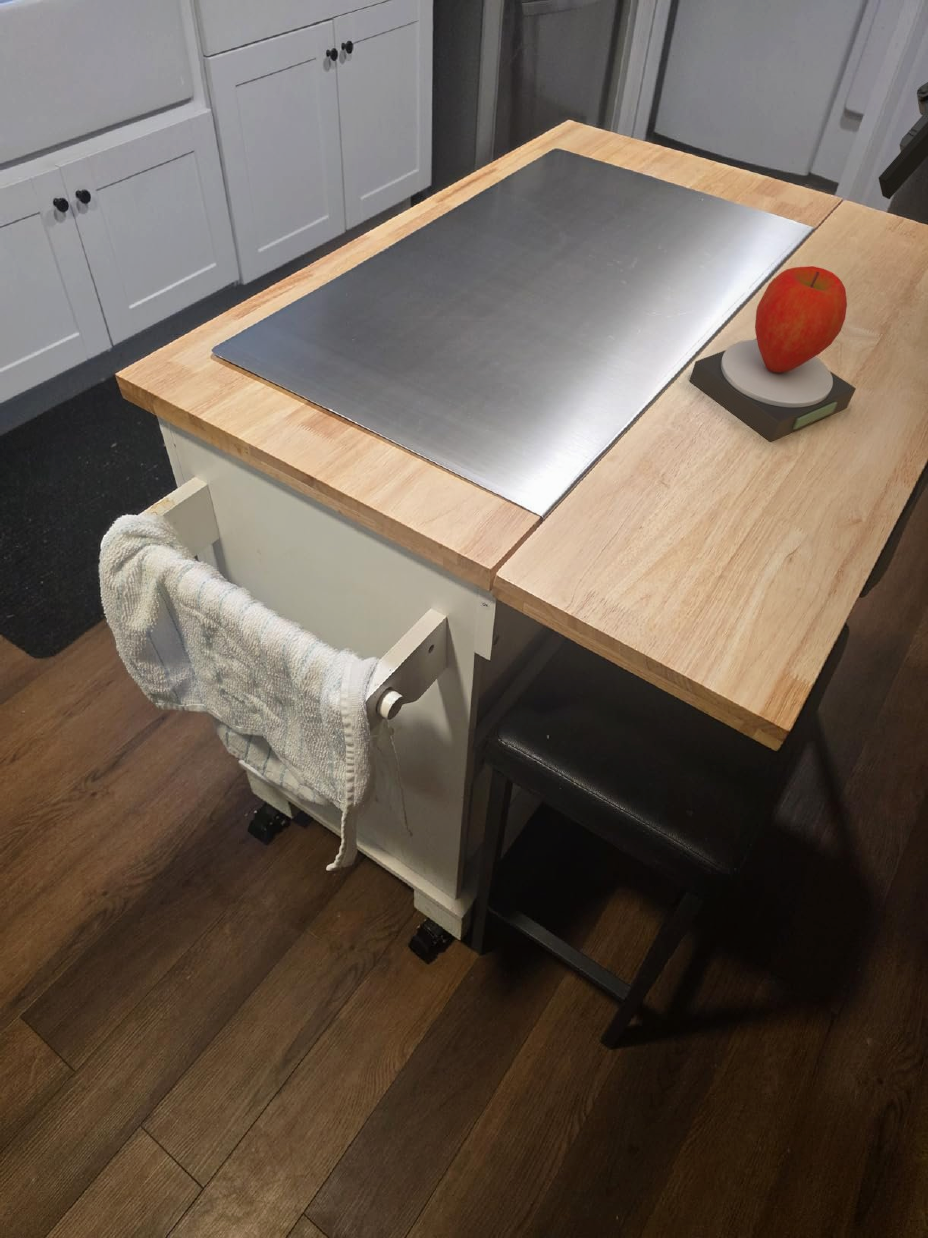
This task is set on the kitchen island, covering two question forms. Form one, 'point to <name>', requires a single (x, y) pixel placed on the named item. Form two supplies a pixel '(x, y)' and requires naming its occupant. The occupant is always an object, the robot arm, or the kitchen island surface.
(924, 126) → the robot arm
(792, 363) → the apple
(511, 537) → the kitchen island surface
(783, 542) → the kitchen island surface
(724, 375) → the kitchen scale
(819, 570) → the kitchen island surface
